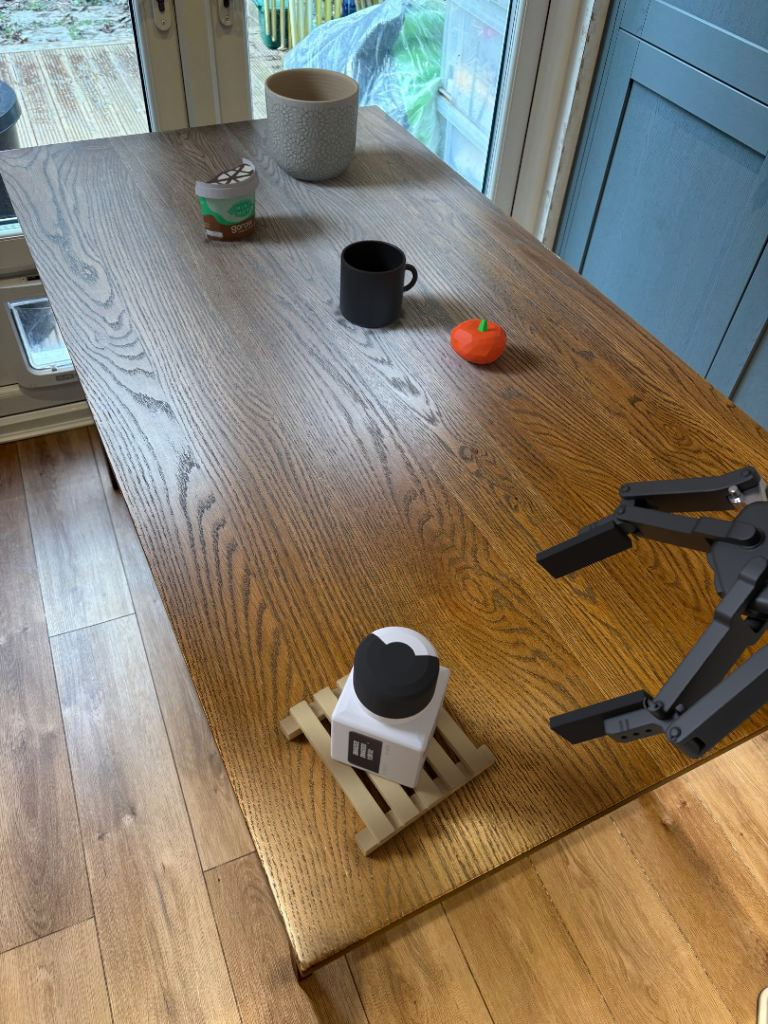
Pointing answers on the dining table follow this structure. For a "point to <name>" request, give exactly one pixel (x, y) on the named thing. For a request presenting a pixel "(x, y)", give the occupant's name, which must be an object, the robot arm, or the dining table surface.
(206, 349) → the dining table surface
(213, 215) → the food container
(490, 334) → the pumpkin
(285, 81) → the planter
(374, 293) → the mug
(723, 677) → the robot arm
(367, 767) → the container
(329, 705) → the rack
